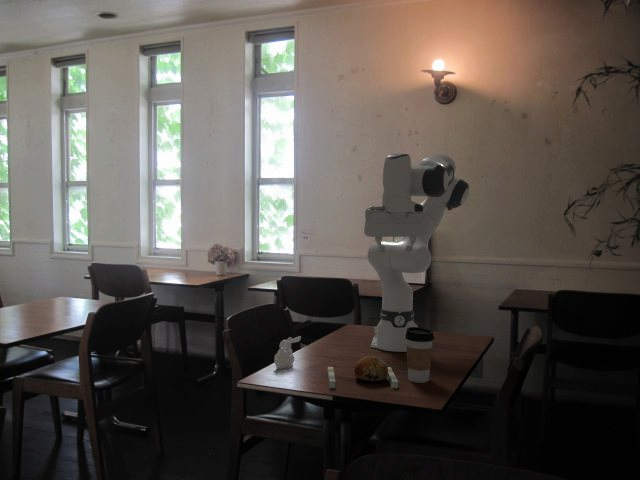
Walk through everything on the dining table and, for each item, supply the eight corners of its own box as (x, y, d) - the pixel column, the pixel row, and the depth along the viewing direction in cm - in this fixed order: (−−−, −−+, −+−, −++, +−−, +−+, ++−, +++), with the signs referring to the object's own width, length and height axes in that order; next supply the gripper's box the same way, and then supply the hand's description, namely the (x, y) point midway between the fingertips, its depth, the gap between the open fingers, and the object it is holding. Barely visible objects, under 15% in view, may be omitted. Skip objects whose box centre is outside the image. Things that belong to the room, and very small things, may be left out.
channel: (327, 373, 175) (327, 366, 175) (390, 373, 175) (390, 367, 175) (329, 388, 161) (329, 381, 161) (397, 388, 161) (398, 381, 161)
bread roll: (389, 389, 170) (394, 363, 173) (379, 381, 162) (385, 353, 165) (358, 384, 174) (363, 358, 177) (347, 375, 166) (353, 349, 169)
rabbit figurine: (281, 360, 189) (281, 331, 189) (303, 361, 188) (303, 332, 187) (270, 370, 178) (270, 339, 177) (294, 372, 176) (294, 341, 175)
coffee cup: (413, 373, 176) (414, 325, 175) (438, 379, 170) (439, 329, 169) (398, 380, 169) (399, 329, 168) (424, 386, 164) (425, 334, 163)
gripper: (369, 206, 170) (368, 252, 171) (430, 207, 176) (429, 251, 177) (361, 206, 176) (360, 251, 176) (420, 206, 182) (419, 250, 183)
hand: (395, 251), depth 177 cm, fingers open, 8 cm apart
